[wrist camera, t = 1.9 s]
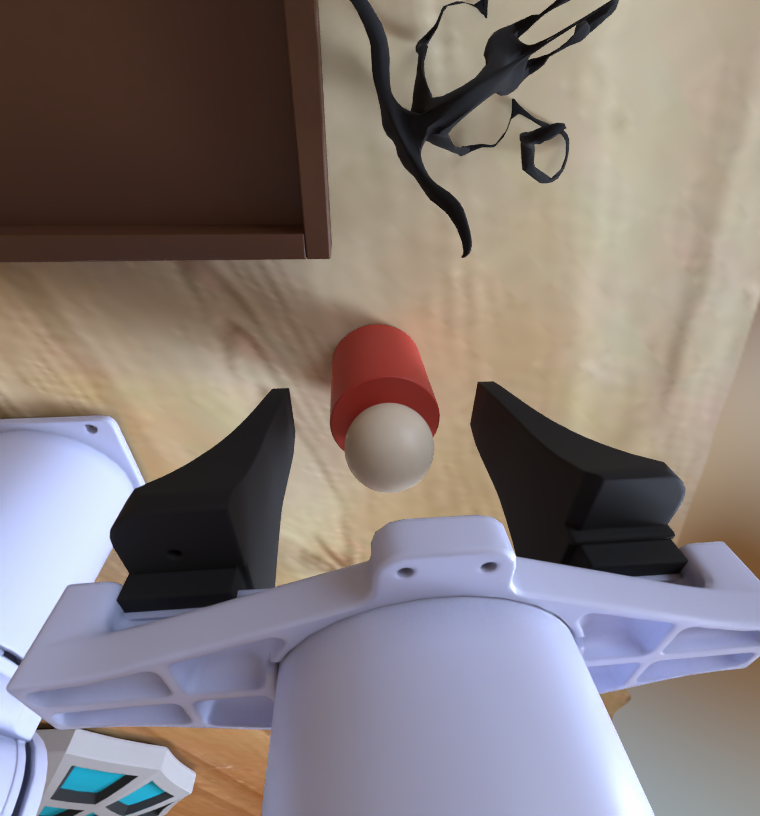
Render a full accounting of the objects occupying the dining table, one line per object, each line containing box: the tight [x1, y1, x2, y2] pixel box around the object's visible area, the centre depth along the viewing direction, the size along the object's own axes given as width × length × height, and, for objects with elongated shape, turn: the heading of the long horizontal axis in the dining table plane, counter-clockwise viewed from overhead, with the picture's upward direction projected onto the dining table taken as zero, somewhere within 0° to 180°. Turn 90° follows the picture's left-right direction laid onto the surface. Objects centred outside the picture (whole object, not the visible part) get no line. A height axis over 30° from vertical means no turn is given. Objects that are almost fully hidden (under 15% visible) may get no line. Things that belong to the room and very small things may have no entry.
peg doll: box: [330, 324, 440, 493], centre depth 15 cm, size 4×4×7 cm
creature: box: [350, 0, 619, 258], centre depth 10 cm, size 8×5×8 cm
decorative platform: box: [35, 729, 196, 816], centre depth 42 cm, size 31×29×5 cm
